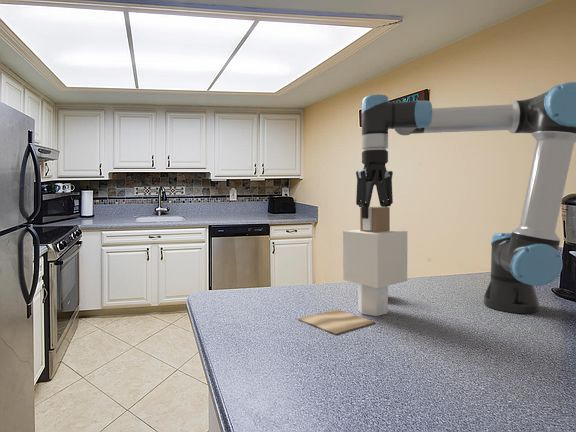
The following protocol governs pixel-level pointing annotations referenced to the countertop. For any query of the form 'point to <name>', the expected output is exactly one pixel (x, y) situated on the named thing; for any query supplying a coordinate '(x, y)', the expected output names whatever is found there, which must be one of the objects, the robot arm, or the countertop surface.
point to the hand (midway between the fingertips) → (374, 228)
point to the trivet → (336, 321)
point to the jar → (372, 300)
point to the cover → (375, 252)
